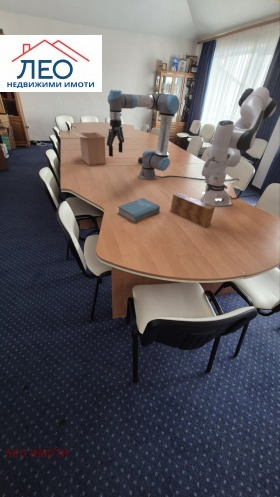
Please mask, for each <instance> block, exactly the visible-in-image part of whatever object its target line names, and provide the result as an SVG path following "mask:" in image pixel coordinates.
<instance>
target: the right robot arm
mask: <svg viewBox="0 0 280 497" xmlns="http://www.w3.org/2000/svg"><path fill="white" fill-rule="evenodd" d="M237 104H238V106H239V108H240V109H239V115H240V116H238V118H237V120H236V121H235V122H234V121H232V120H228V119H225V120H223V119H222V120H220V121H218V123H217V124H216V127H215V130H214V133H213V137H212V145H210V146H209V147H208V149H207V151H206V157H207V159H206V160H205V162H204V163H203V166H202V169H201V176H202V177H204V179H205V180H204V183H205V184H206V186H205V191H203V192H201V193H202V194H203V195H202V197H201V200H200V201H201V202H204V203H206V204H209V205H211V206H214V207H226V206H232V203H233V202H232V201H231V200H236V199H239V198H248V197H253V196H255V197H258V195H256V194H251V195H241V196H237V197H232V195H230V194H229V193H228V192H227V190H228V188H229V187H228V185H226V184H225V180H226V177H227V172H226V169H227V168H235V167H236V166H237V165H238V164H240V161H241V159H242V158H241V157H242V155H241V152H246V151H249V150H250V149H252V147H253V146H254V144H255V141H256V137H257V135H258V133H259V130H260V128H261V126H262V123H263V121H264V120H268V119H269V118H270V117H271V116H273V114H274V113H275V111H276V108H277V106H278V102H277V101H276V100H275V99H274V98H272V97H270V90H269V89H268V88H267V87H265V86H260V87H257V88H255V89H254V88H251V87H248V88H246V89H245V90H244V91H243V92H241V94H240V96H239V99H238V102H237ZM230 199H231V200H230Z"/></svg>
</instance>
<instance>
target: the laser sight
mask: <svg viewBox="0 0 280 497" xmlns="http://www.w3.org/2000/svg"><path fill="white" fill-rule="evenodd" d="M137 162H138V164H141V165H142V156H141V157H140V156H139V157H138V159H137Z"/></svg>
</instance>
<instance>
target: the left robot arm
mask: <svg viewBox="0 0 280 497" xmlns="http://www.w3.org/2000/svg"><path fill="white" fill-rule="evenodd" d="M107 103H108V105H109V126H110V128H108V133H107V134H108V137H107V139H106V147H107V146H108V157H112V158H113V157H114V146H113V144H114V141H115V138H116V137H117V140H118V153H120V154H123V144H124V143H125V137H124V132H123V124H122V121H123V120H122V116H123V114H122V113H123V112H122V110H123V109H125V110H126V109H128V110H129V109H130V110H132V109H136V108H146V109H147V110H153V111H156V112H159V116H160V124H159V130H158V139H157V147H156V150H144V151H143V152H142V156H141V157H142V164H141V169H140V172H139V178H140V179H142V180H146V181H154V180H156V178H161V179H163V178H168V177H170V178H171V177H172V178H183V179H190V180H199V181H205V178H200V177H199V178H197V177H191V176H190V177H187V176H181V175H165V176H161V175H157V174H156V170H157V171H161V172H165V171H166V170H167V169H168V168H169V167H170V165H171V159H170V157H169V153H168V148H169V142H170V135H171V129H172V122H173V119H174V117H175V115H176V114H177V113H178V112H179V110H180V105H181V104H180V99H179V97H178V96H177V95H176V94H172V93H161V92H160V93H159V92H158V93H148V94H146V95H145V94H132V93H123V91H122V90H120V89H119V90H118V89H110V90H109V94H108V95H107ZM235 180H236V181H240V179H239V178H232V179H231V178H230V179H225V181H226V182H228V181H235ZM225 181H224V182H225Z"/></svg>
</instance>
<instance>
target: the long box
mask: <svg viewBox="0 0 280 497" xmlns="http://www.w3.org/2000/svg"><path fill="white" fill-rule="evenodd" d="M215 209H216V208H215V206H212V205H209V204H206V203H204V202H203V201H202V200H198V199H196V198H194V197H191V196H189V195H186V194H185V193H181V192H176V193H173V195H172V200H171V206H170V212H171V213H174V214H176V215H178V216H180V217H182V218H184V219H186V220H188V221H190V222H192V223H195V224H197V225H198V226H201V227H203V228H207V227H208V226H210V225H211V223H212V218H213V217H214V212H215Z"/></svg>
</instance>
